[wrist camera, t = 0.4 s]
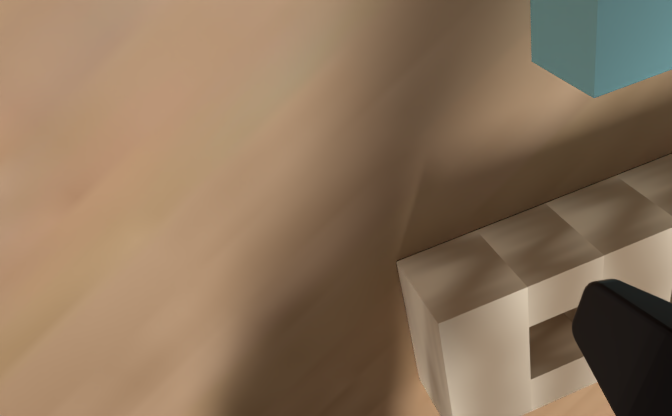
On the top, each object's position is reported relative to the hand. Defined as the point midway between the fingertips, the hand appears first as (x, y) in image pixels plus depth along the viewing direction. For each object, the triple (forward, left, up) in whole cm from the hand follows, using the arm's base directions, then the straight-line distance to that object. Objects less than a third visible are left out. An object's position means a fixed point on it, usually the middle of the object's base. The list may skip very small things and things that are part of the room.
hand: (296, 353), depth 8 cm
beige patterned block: (-16, -14, -14) cm, 26 cm away
